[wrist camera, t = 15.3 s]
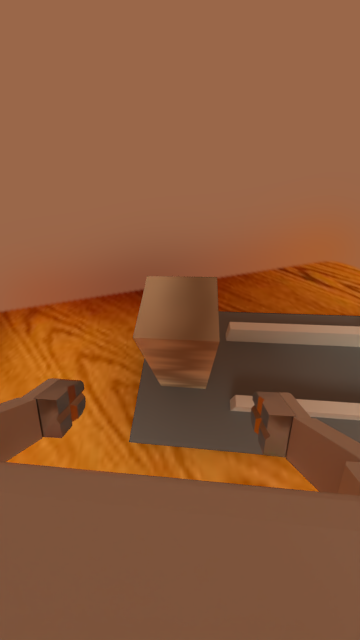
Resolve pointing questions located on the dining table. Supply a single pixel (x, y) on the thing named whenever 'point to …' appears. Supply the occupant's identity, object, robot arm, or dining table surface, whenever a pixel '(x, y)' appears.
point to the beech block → (179, 329)
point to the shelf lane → (258, 382)
